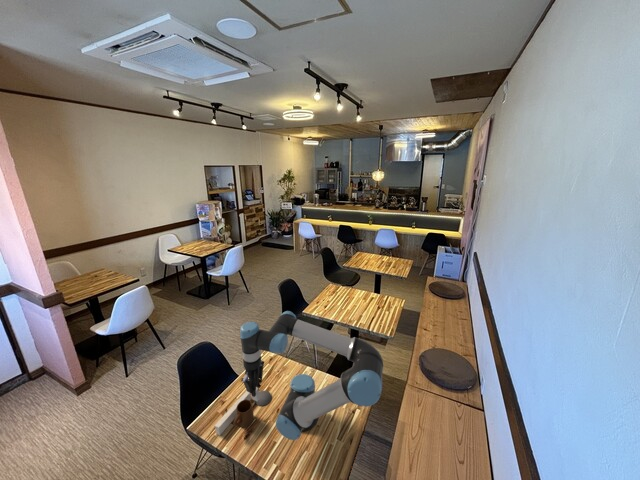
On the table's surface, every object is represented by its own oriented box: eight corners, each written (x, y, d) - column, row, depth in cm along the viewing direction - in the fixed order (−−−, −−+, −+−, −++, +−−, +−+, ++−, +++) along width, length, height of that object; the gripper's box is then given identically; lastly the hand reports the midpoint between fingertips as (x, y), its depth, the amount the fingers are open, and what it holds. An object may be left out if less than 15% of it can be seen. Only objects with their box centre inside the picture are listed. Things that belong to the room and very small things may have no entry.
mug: (242, 439, 120) (240, 424, 117) (228, 433, 122) (226, 418, 119) (256, 416, 131) (255, 401, 128) (243, 411, 133) (242, 397, 130)
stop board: (251, 398, 140) (250, 391, 138) (219, 435, 121) (218, 427, 120) (247, 397, 141) (247, 389, 140) (215, 433, 122) (214, 425, 121)
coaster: (274, 395, 142) (274, 394, 142) (264, 408, 134) (264, 407, 134) (261, 389, 146) (261, 388, 146) (250, 401, 138) (250, 400, 138)
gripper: (254, 344, 117) (258, 385, 124) (234, 364, 106) (239, 407, 113) (268, 349, 114) (271, 391, 121) (248, 370, 103) (253, 414, 110)
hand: (256, 399), depth 117 cm, fingers closed
